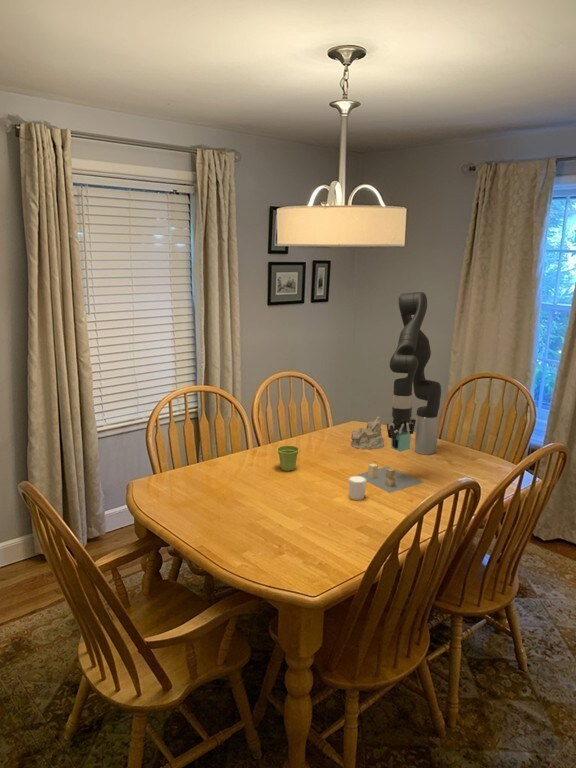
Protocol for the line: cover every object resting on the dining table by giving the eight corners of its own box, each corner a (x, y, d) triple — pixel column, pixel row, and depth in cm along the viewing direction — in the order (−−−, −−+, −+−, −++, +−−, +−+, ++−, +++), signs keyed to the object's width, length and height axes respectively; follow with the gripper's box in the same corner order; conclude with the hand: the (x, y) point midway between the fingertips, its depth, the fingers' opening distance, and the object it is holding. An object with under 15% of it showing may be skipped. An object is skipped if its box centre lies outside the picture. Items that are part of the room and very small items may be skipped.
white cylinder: (367, 494, 211) (368, 476, 209) (364, 501, 205) (364, 483, 203) (349, 491, 213) (350, 474, 212) (345, 498, 207) (346, 481, 205)
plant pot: (273, 470, 233) (273, 451, 231) (282, 463, 241) (282, 444, 239) (294, 474, 230) (294, 454, 228) (302, 466, 238) (302, 446, 236)
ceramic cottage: (385, 439, 273) (384, 409, 269) (383, 451, 257) (382, 420, 254) (352, 438, 276) (351, 409, 272) (349, 451, 261) (348, 420, 257)
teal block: (400, 445, 226) (400, 429, 225) (409, 449, 222) (410, 433, 221) (391, 448, 224) (391, 432, 222) (400, 451, 219) (401, 435, 218)
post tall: (390, 483, 218) (391, 467, 217) (395, 485, 216) (395, 469, 215) (385, 484, 217) (386, 469, 215) (390, 487, 215) (390, 471, 213)
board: (387, 468, 236) (388, 455, 235) (423, 484, 220) (424, 470, 219) (354, 477, 226) (355, 463, 225) (389, 495, 210) (390, 480, 209)
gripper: (408, 400, 225) (406, 440, 230) (381, 406, 218) (380, 447, 222) (422, 404, 219) (420, 445, 224) (395, 410, 212) (394, 453, 216)
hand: (400, 446), depth 223 cm, fingers closed on teal block, 5 cm apart
